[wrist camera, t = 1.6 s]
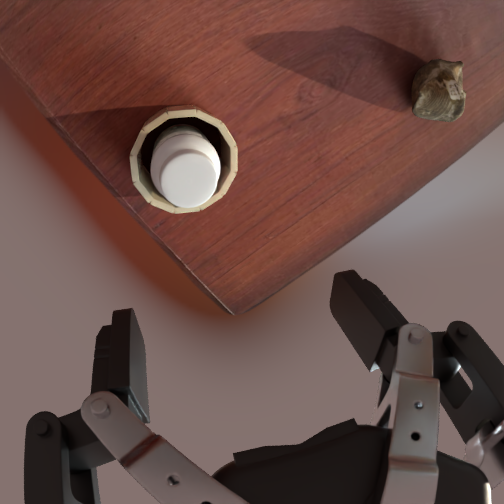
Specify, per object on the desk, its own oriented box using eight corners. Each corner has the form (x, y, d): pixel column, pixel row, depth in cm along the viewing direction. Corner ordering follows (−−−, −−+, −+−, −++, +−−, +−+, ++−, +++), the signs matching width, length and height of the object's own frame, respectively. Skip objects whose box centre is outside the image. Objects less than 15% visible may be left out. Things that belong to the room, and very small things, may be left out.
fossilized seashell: (459, 48, 26) (396, 56, 28) (493, 82, 24) (431, 92, 25) (449, 89, 33) (392, 101, 34) (477, 123, 31) (419, 138, 32)
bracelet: (121, 173, 28) (114, 190, 24) (161, 90, 25) (160, 92, 21) (200, 205, 32) (206, 227, 28) (242, 130, 29) (256, 139, 25)
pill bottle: (210, 173, 31) (229, 212, 23) (156, 180, 30) (154, 223, 22) (207, 119, 28) (226, 138, 20) (150, 126, 27) (143, 148, 19)
